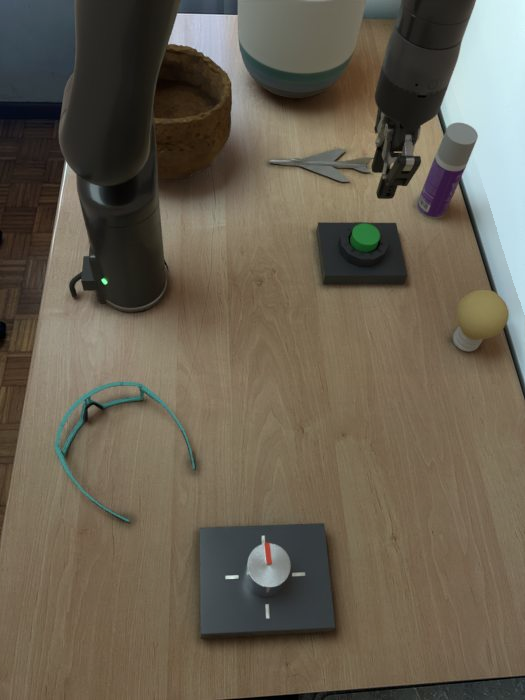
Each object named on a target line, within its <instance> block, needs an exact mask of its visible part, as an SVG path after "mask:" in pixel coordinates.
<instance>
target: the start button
mask: <svg viewBox="0 0 525 700" xmlns="http://www.w3.org/2000/svg"><path fill="white" fill-rule="evenodd" d="M379 239H380V233H379V231H378V229H377V228H376V227H374V226H373V225H370V224H365V223H364V224H359V225H357V226H355V227H354V229H353V231H352V235H351V238H350V243H351V245H352V247H353V248H354V249H356V250H357V251H360V252H364V253H368V252H371V251H373V250H375V249H376V247H377V245H378V242H379Z"/></svg>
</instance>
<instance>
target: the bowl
mask: <svg viewBox="0 0 525 700" xmlns="http://www.w3.org/2000/svg"><path fill="white" fill-rule="evenodd" d="M232 105H233V89H232V81H231V79H230V76H229V74H228V73H227V71H225V70H223V68H222V67H221V66H220V65H218V64H217V63H216V62H215V61H214V60H213V59H211V57H210V56H207V55H204V52H203V51H198V50H197V49H196V48H193V47H192V46H188V45H181V44H180V45H179V44H176V43H168V45H167V48H166V51H165V54H164V57H163V60H162V63H161V67H160V70H159V74H158V79H157V83H156V89H155V95H154V103H153V109H154V120H155V134H156V149H157V162H158V179H164V178H165V179H172V180H180V179H185V178H190V177H192V176H194V175H196V174H198V173H200V172H202V171H203V170H205V169H207V168H209V167H210V166H211V165H212V164H213V163H214V161H215V159H217V157H218V156H219V154H220V153H221V152H222V151H223V149H224V148H225V147H226V144H227V143H228V141H229V138H230V136H231V131H232V130H231V129H232Z"/></svg>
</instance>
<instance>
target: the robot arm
mask: <svg viewBox="0 0 525 700" xmlns="http://www.w3.org/2000/svg"><path fill="white" fill-rule="evenodd" d="M181 2H182V0H74V28H75V30H74V31H75V57H74V58H75V59H74V67H73V73H72V74H71V75H70V77H68V80H67V82H66V84H65V87H64V90H63V97H62V98H63V99H62V104H61V110H60V111H61V112H60V117H59V125H58V143H59V148H60V151H61V153H62V156H63V158H64V160H65V162H66V164H67V165H68V166H69V168H70V169H71V170H72V171H73V172H74V173H75V174H76V191H77V196H78V197H77V198H78V200H79V205H80V208H81V213H82V217H83V221H84V226H85V230H86V234H87V239H88V242H89V250H88V255H83V258H82V265H81V266H82V268H81V271H80V272H79V273H77V274H76V275H74V277H73V278H71V280H70V281H69V282H68V283H69V284H68V288H69V291H70V295H71V297H72V298H76V297H77V296H78V294H77V291H76V284H77V283H78V282H79V281H80V282H81V287H82V290H83V291H84V292H96V297H97V300H98V303H99V304H107V305H108V306H109V307H111V308H112V309H114V310H117V311H120V312H125V313H139V312H144V311H146V310H150V309H151V308H153V307H154V306H156V305H157V304H158V303H160V302H161V301H162V299H163V298H164V296H165V294H166V292H167V288H168V278H167V272H168V273H169V272H170V271H169V270H170V269H169V266H168V264H167V261H166V260H165V252H164V241H163V240H164V239H163V229H162V218H161V217H162V216H161V206H160V196H159V195H160V194H159V178H158V162H157V149H156V134H155V120H154V109H153V103H154V95H155V89H156V83H157V79H158V74H159V70H160V67H161V63H162V60H163V57H164V54H165V51H166V48H167V45H168V44H169V42H170V38H171V35H172V33H173V30H174V26H175V23H176V19H177V15H178V11H179V9H180V6H181ZM476 2H477V0H401V1H400V4H399V7H398V12H397V15H396V19H395V24H394V26H393V28H392V31H391V33H390V35H389V38H388V41H387V45H386V49H385V53H384V57H383V60H382V65H381V68H380V71H379V76H378V79H377V84H376V88H375V92H374V101H375V105H376V106H377V113H376V119H375V125H374V129H373V130H374V134H377V136H376V138H375V142H374V143H375V147H376V148H375V151H374V155H373V157H372V158H373V159H372V162H371V166H370V167H371V173H374V174H381V175H380V179H379V182H378V185H377V188H376V198H377V199H379V200H380V199H381V200H391V199H394V197H395V195H396V192H397V188H398V187H407V186H408V185H409V184H410V182H411V181H412V179H413V177H414V176H415V174H416V173H417V171H418V169H419V168H420V166H421V164H422V159H421V158H422V157H421V156H420V155H414V152H415V147H416V144H417V142H418V141H419V139H420V135H421V129H422V126H423V125H424V124H426V123H428V122H430V121H431V120H433V119H434V118H435V117H436V116H437V115H438V114H439V112H440V110H441V107H442V105H443V102H444V99H445V96H446V92H447V90H448V88H449V85H450V82H451V79H452V76H453V74H454V71H455V68H456V66H457V63H458V60H459V56H460V52H461V48H462V42H463V39H464V37H465V34H466V31H467V28H468V25H469V23H470V20H471V16H472V14H473V11H474V8H475V6H476ZM166 270H167V271H166Z"/></svg>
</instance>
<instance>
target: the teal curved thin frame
mask: <svg viewBox="0 0 525 700" xmlns="http://www.w3.org/2000/svg"><path fill="white" fill-rule="evenodd" d="M128 386H129V387H137V388H138V390H139V392H140V393H139V395H138V396H129V397H124V398H119V399H116V400H112V401H109V402H106V403H100V402H99V401H96V400H93V399H91V397H92V396H93V395H96V394H97V393H99V392H101V391H104V390H106V389H110V388H114V387H128ZM145 395H147V396H148V397H149V398H150V399H152V400H153V401H155V402H156V403H158V404H159V405H161V407H163V408H164V409H165V410H166V411H167V412H168V413H169V415H170V416H171V418H172V419H173V421H175V424H176V425H177V426H178V428H179V429H180V431H181V434H182V436H183V438H184V440H185V443H186V446H187V450H188V454H189V458H190V463H191V467H192V469H193V470H195V469H196V465H195V460H194V456H193V451H192V446H191V444H190V441H189V437H188V435H187V433H186V430H185V429H184V427H183V426H182V423H181V422H180V420H179V419H178V418H177V417H176V415H175V413H174V412H173V411H172V410H171V409H170V407H168V405H167V404H166V402H164V401H163V400H162V399H161V397H159V396H158V394H156V393H155V392H153V391H152V390H151V389H149V388H148V387H147V386H145V384H143V383H139V382H136V381H115V382H109V383H106V384H103V385H100V386H98V387H94V388H92V389H90V390H89V391H87V392H86V393H84V394H83V395H82V396H80V397H79V398H78V399H77V400H76V401H75V402H73V404H72V405H71V406H70V407H69V408H68V409H67V411H66V413H65V414H64V415H63V417H62V419H61V421H60V424H59V425H58V429H57V432H56V435H55V436H56V437H55V440H54V451H55V453H56V456H57V457H58V460H59V462H60V465H61V467H62V468H63V470H64V471H65V474H66V475H67V476H68V477H69V479H70V480H71V481H72V482H73V484H75V486H76V487H77V488H78V489H79V490H80V491H81V492H82V494H83V495H84V496H85V497H86V498H87V499H89V501H91V502H92V503H93V504H95V505H96V506H98V507H99V508H100V509H102V510H103V511H105V512H107V513H108V514H109V515H112V516H114V517H116V518H117V519H120V520H122V521H124V522H127V523H130V519H128V518H127V517H124V516H122V515H120V514H118V513H116V512H114V511H112V510H111V509H109V508H107V507H106V506H104V505H103V504H102V503H100V502H98V501H97V500H96V499H95V498H93V497H92V496H91V495H90V494H89V493H88V492H87V491H85V490H84V487H82V485H80V483H79V482H78V481H77V480H76V478H75V477H74V475H73V473H72V471H71V469H70V468H69V465H68V464H67V461H66V459H65V456H66V455H67V452H68V449H69V447H70V444H71V443H72V440H73V439H74V438H75V436H76V435H77V432H78V431H79V429H80V428H81V427H82V426H83V425H84V423H85V422H88V419H89V409H90V408H91V407H92V406H94V407H96V408H98V409H100V410H102V411H103V410H104V409H105V408H108V407H111V406H116V405H119V404H123V403H129V402H138V401H143V400H144V397H145ZM82 403H83V404H82ZM81 404H82V407H81V411H80V420H79V421H78V422H77V423H76V425H75V426H74V428H73V429H72V430H71V432H70V434H69V435H68V438H67V439H66V441H65V443H64V445H63V448H62V449H61V446H60V440H61V435H62V432H63V431H64V427H65V425H66V423H67V421H68V419H69V418H70V416H71V415H72V413H73V412H74V411H75V409H77V407H79V406H80V405H81Z"/></svg>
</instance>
